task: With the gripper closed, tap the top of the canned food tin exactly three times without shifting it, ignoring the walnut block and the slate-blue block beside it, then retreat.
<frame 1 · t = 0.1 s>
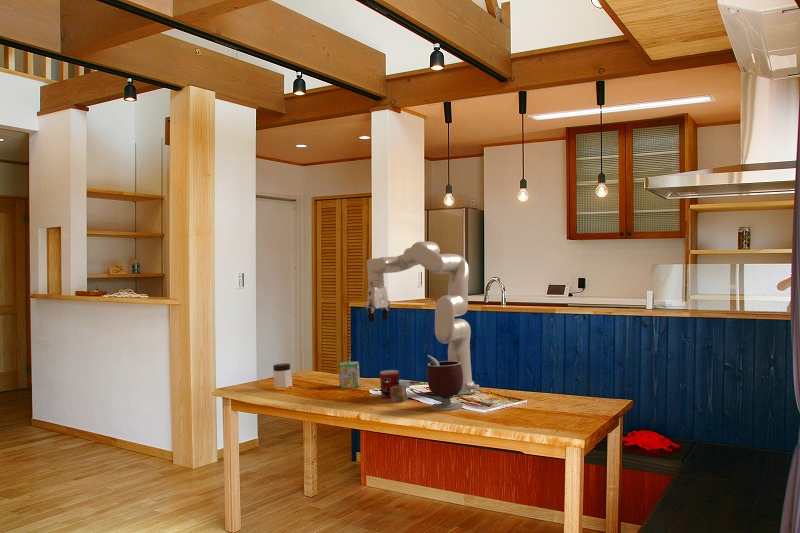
hand: (378, 320, 317), 31 cm above the table, tool pointing down, fingers open, 9 cm apart
canned food: (390, 397, 289), on the table
slate block: (400, 392, 299), on the table
walnut block: (399, 401, 279), on the table
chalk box: (350, 387, 321), on the table
mate gourd: (445, 407, 260), on the table
jar: (283, 389, 328), on the table
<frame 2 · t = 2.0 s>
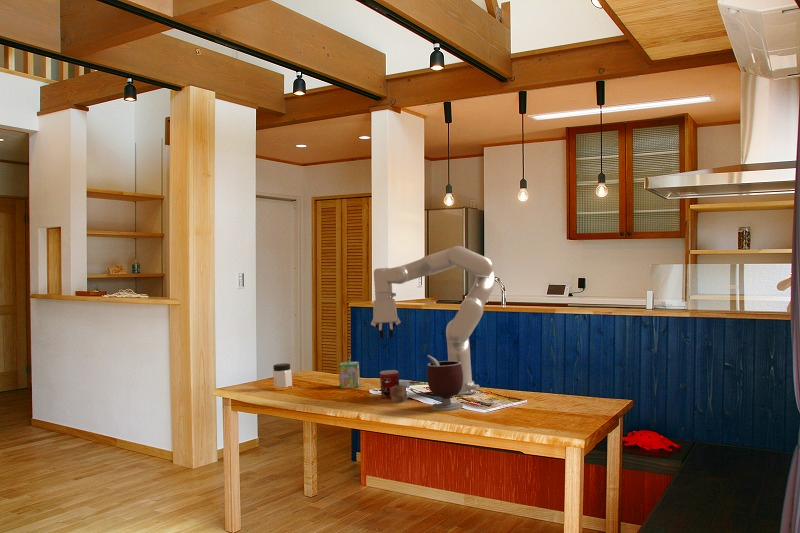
hand: (386, 338, 289), 25 cm above the table, tool pointing down, fingers closed
nothing on the table moved.
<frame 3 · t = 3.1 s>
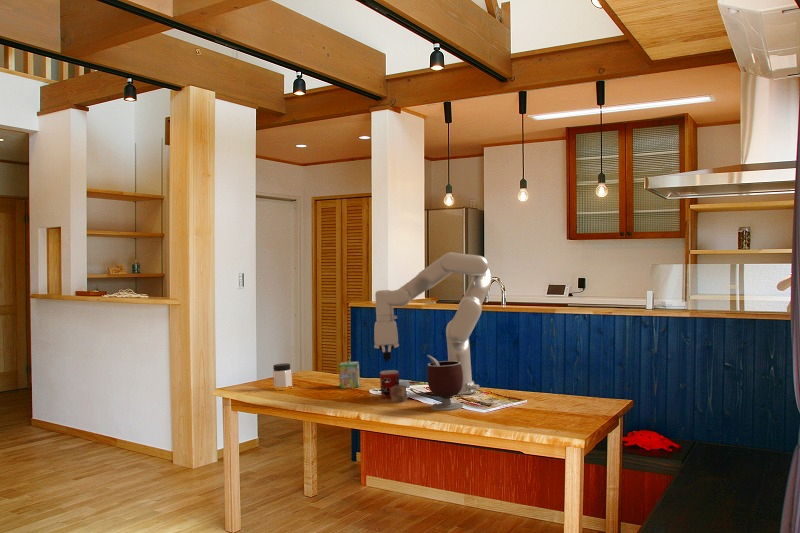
hand: (387, 361, 289), 16 cm above the table, tool pointing down, fingers closed
nothing on the table moved.
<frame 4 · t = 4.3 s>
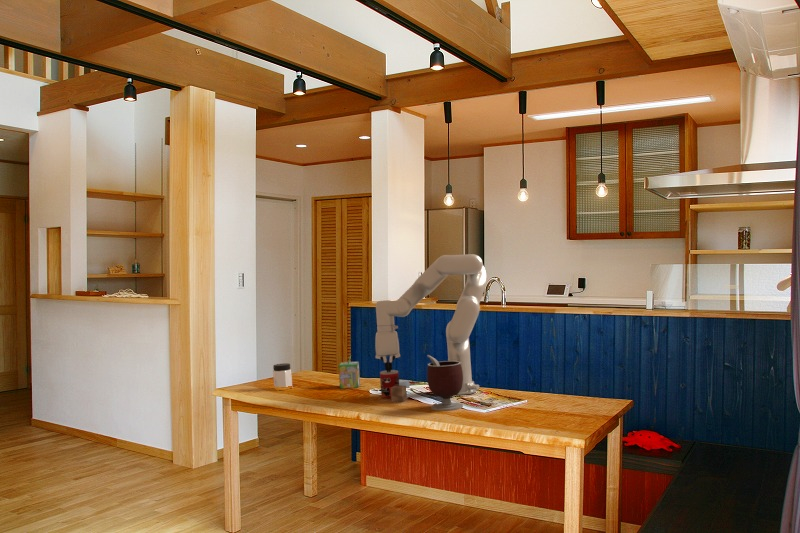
hand: (388, 371, 289), 11 cm above the table, tool pointing down, fingers closed
canned food: (390, 397, 289), on the table, touching gripper
everything else where it was.
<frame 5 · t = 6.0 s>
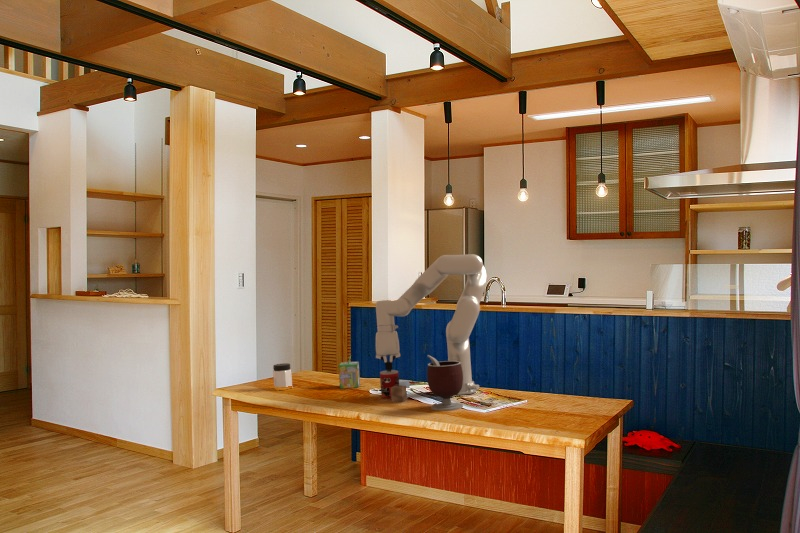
hand: (389, 371, 289), 11 cm above the table, tool pointing down, fingers closed
canned food: (390, 397, 289), on the table
everything else where it was.
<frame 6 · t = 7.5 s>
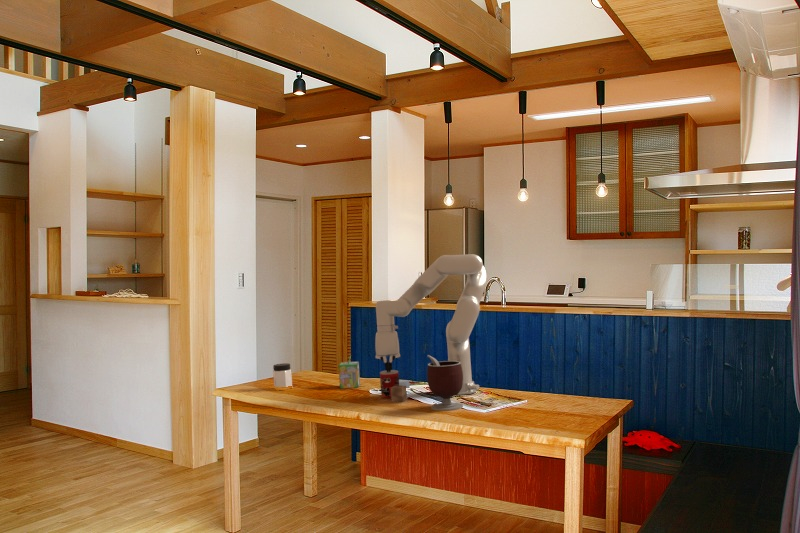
hand: (388, 371, 289), 11 cm above the table, tool pointing down, fingers closed
canned food: (390, 397, 289), on the table, touching gripper
everything else where it was.
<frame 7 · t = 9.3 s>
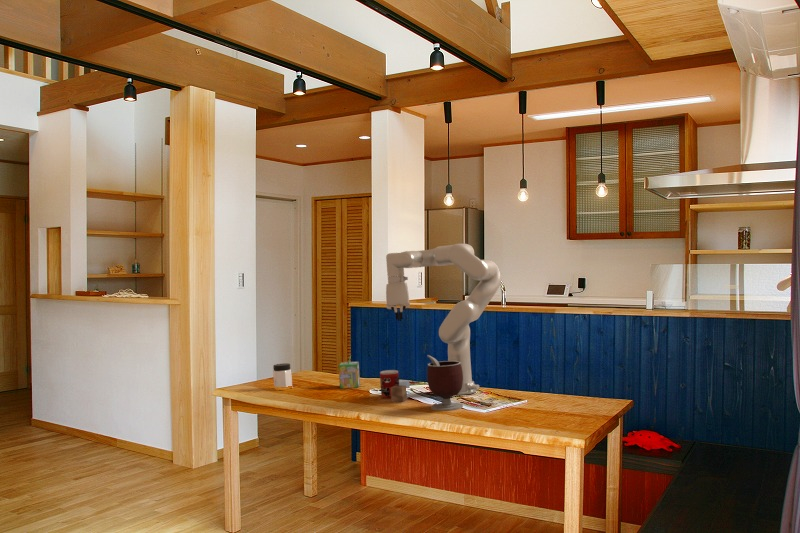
hand: (399, 320, 300), 32 cm above the table, tool pointing down, fingers closed
canned food: (390, 397, 289), on the table
everything else where it was.
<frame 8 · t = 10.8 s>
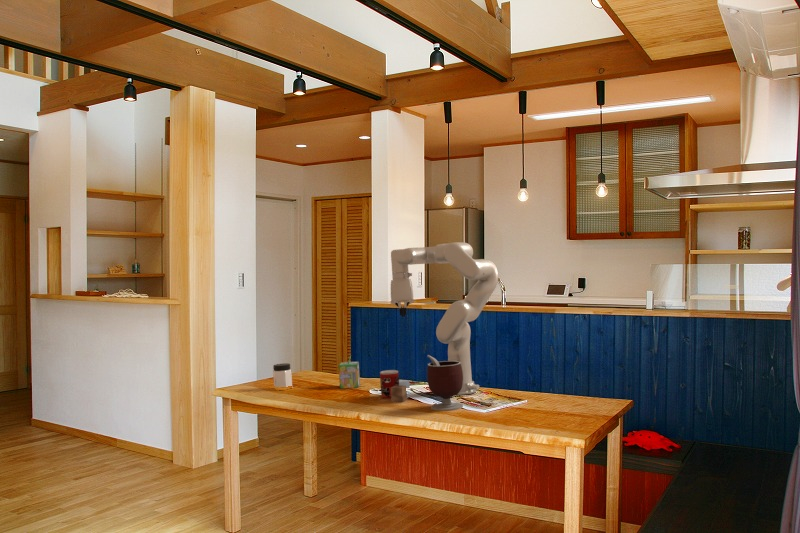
hand: (403, 316, 305), 33 cm above the table, tool pointing down, fingers closed
nothing on the table moved.
at the end: canned food moved 0.2 cm from its start; canned food tilted 0°; canned food on the table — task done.
